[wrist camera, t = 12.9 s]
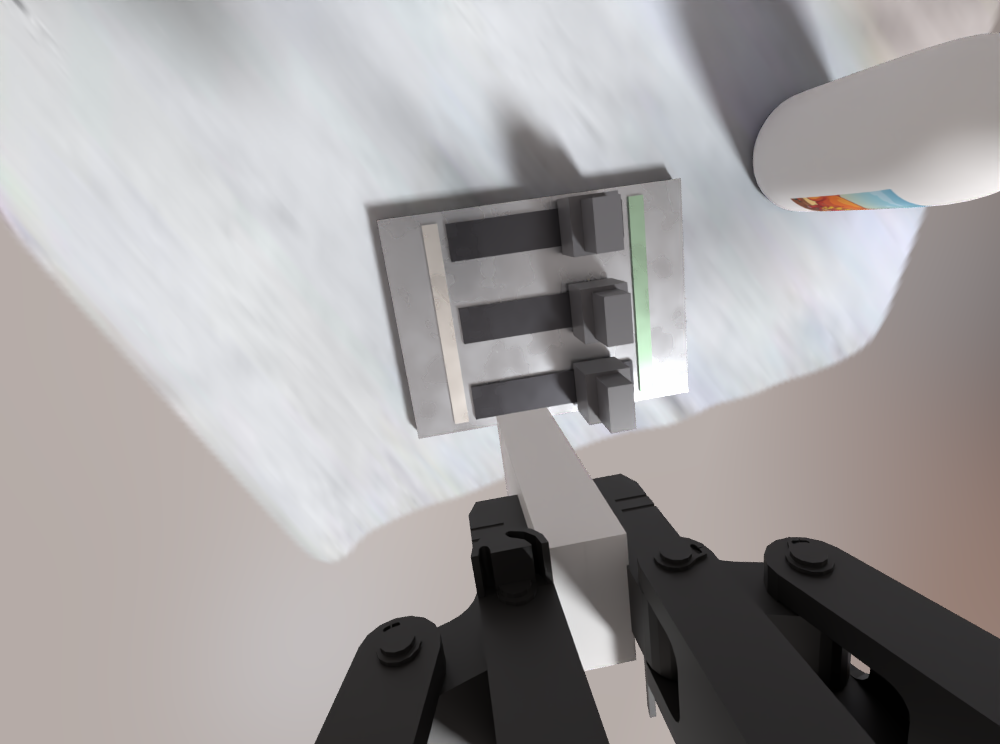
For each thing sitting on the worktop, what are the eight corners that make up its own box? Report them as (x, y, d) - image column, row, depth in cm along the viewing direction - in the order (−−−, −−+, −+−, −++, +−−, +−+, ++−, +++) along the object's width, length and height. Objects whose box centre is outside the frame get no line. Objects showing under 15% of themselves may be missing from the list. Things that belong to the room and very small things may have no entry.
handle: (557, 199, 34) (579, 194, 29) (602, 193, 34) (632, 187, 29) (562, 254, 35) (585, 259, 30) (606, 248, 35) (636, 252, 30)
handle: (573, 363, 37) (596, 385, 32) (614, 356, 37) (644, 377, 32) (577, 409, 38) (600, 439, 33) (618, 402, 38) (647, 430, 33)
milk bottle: (728, 184, 37) (1053, 139, 18) (784, 71, 35) (1207, -112, 16) (815, 229, 38) (1199, 235, 19) (872, 124, 37) (1351, 15, 18)
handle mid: (568, 284, 35) (591, 294, 30) (611, 277, 36) (642, 286, 31) (573, 335, 36) (596, 353, 31) (615, 328, 37) (645, 345, 32)
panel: (378, 220, 34) (376, 220, 33) (673, 179, 36) (682, 177, 35) (419, 432, 39) (418, 440, 37) (680, 387, 40) (690, 393, 39)
